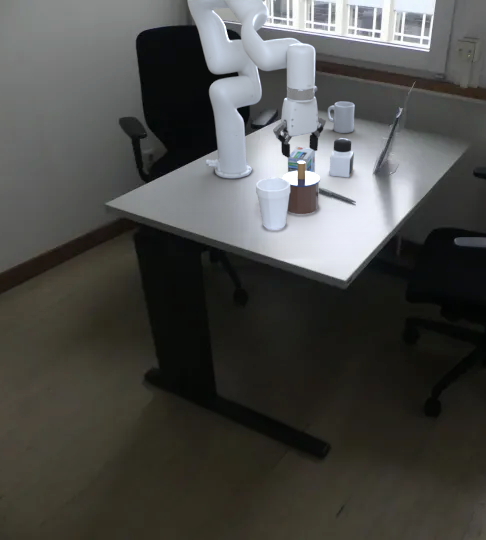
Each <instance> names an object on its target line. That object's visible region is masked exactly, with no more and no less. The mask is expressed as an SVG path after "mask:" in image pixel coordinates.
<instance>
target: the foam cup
mask: <svg viewBox="0 0 486 540" xmlns="http://www.w3.org/2000/svg"><path fill="white" fill-rule="evenodd" d="M255 192H256V195H257V201H258V205H259V209H260V210H259V211H260V215H261V221H262V225H263V227H264V228H266V229H267V230H281V229H282V228H284V227H285V226H286V224H287V217H288V211H287V210H288V202H289V194H290V183H289V181H287V180H285V179H283V178H282V177H266V178H262V179H259V180H257V182H256V183H255Z"/></svg>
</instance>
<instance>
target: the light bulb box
mask: <svg viewBox="0 0 486 540" xmlns="http://www.w3.org/2000/svg"><path fill="white" fill-rule="evenodd" d="M298 161H305V171H309V172H313V173H316V172H315V171H316V151H314V150H313V149H311V148H310V147H303V146H296V147H295V148H294V149H292V151H291V152H290V157H288V158H287V173H289V172H293V171H297V162H298Z"/></svg>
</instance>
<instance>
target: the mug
mask: <svg viewBox="0 0 486 540" xmlns="http://www.w3.org/2000/svg"><path fill="white" fill-rule="evenodd" d="M332 110H333V117H331V111H332ZM326 112H327V113H326V114H327V119H328V122H331V123H333V131H334V132H335V133H340V134H348V133H349V134H350V133H352V132H353V131H354V128H355V127H354V126H355V125H354V124H355V104H354V103H353V102H352V101H351V102H350V101H337V102H335V103H334V105H330V106H328V108H327V111H326Z"/></svg>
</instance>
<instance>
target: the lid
mask: <svg viewBox="0 0 486 540" xmlns="http://www.w3.org/2000/svg"><path fill="white" fill-rule="evenodd" d="M282 179H285V180H287V181H289V183H290V186H294V187H309V186H313V185H316V184H318V183H320V182H321V177H320V175H318V174H317V173H316V172H315V173H313V172H309V171H305V161H298V162H297V171H293V172H289V173H288V172H287V173H285V174H283V176H282Z"/></svg>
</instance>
